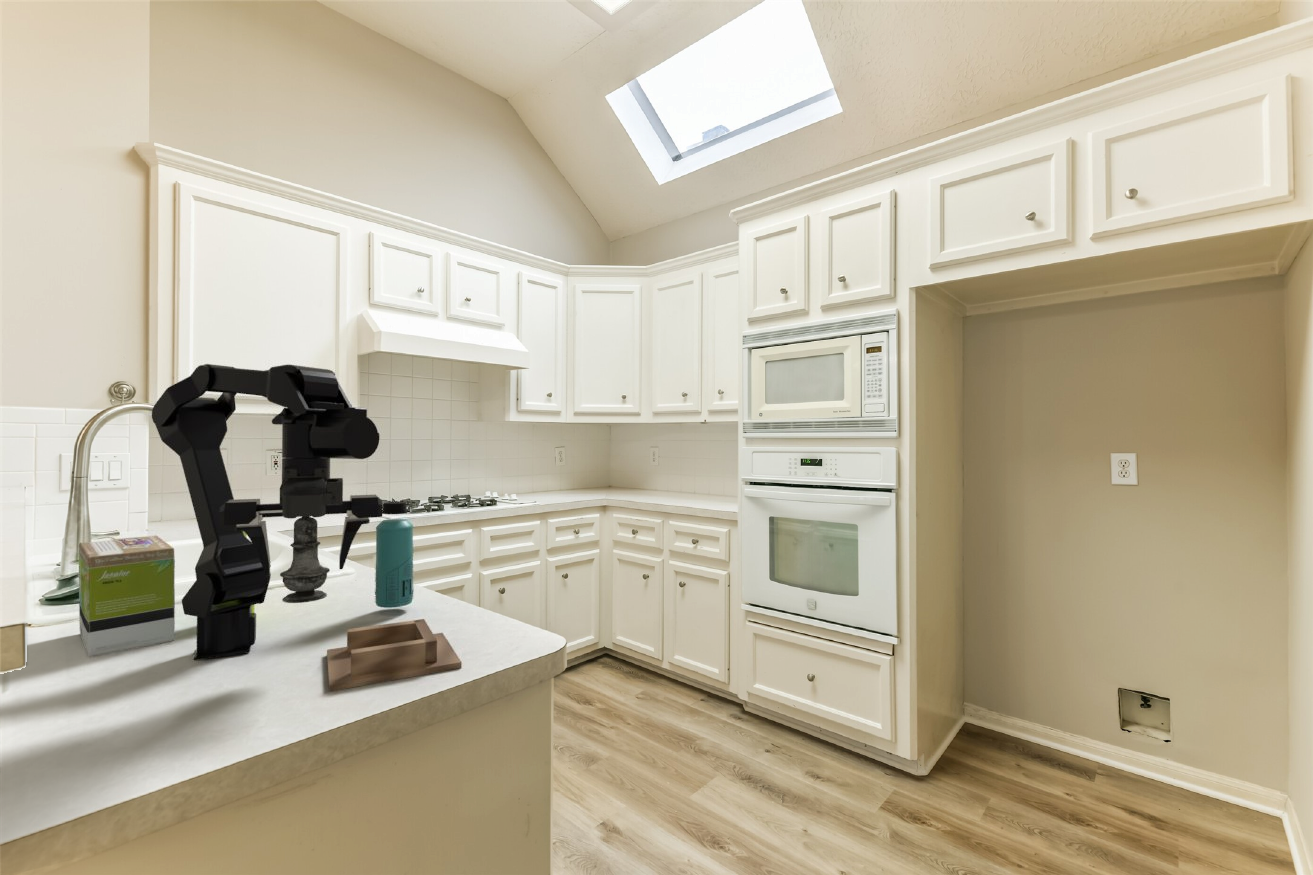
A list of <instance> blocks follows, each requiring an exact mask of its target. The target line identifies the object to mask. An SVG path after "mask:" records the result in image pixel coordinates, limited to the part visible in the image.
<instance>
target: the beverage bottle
mask: <svg viewBox="0 0 1313 875" xmlns="http://www.w3.org/2000/svg"><path fill="white" fill-rule="evenodd" d="M407 507H408V506H407V502H406V501H401V500H399V501H398V500H397V501H396V500H394V501H393V500H391V501H386V502H383V503H382V515H402V514H407V513H408V508H407ZM413 529H414V525H413V523H411V521H410V520H408V519H406V518H394V519H393V518H391V519H384V520H382V521H380V522H379V524H377V526H376V527H375V530H376V532H375V533H376V534H375V535H376V536H375V540H376V541H375V545H376V546H375V572H374V579H375V580H374V586H375V589H374V594H375V595H374V598H375V600H374V602H375V605H376V606H377V608H378V607H379V608H386V609H387V608H399V607H400V608H401V607H404V606H408V605H411V603H412V602H413V599H414V596H415V595H414V591H415V590H414V589H415V588H414V585H415V583H414V578H415V577H414V571H415V570H414V543H413V542H414V541H413V540H414V539H413V537H414V530H413Z"/></svg>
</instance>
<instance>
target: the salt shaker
mask: <svg viewBox="0 0 1313 875" xmlns="http://www.w3.org/2000/svg"><path fill="white" fill-rule="evenodd" d="M320 545H321V541H318V521H317V519H316V518H315V517H312V516H302V517H299V518H297V519H296V520H295V521H294V524H293V542H292V543H290V547H292V560H291V564H290V567H289V568H288V569H287V570H284V571H282V572H280V573H279V576H280V577H281V578H282V582H283V585H284V587H286V588H287V589H288V590H289V591H291V593H287V595H286V596H283V597H282V599H281V600H282V603H285V604H286V603H288V604H302V603H303V604H304V603H309V602H315V601H319V600H322V599H325V598H326V597H327V596H328V593H327V592H324V591H323V590H319V588H321V587H322V586H323V585H324V584H325V583H326V581H327V578H328V573H330V568H328V567H325V566H324V567H323V565H321V564H320V560H319V546H320Z"/></svg>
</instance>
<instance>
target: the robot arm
mask: <svg viewBox="0 0 1313 875" xmlns="http://www.w3.org/2000/svg"><path fill="white" fill-rule="evenodd" d="M206 392H207V393H208V392H211V393H221V394H220V396H219V397H218V398H217V399H215V398H213V397H212V398H211V397H202V396H203V395H205V393H206ZM237 394H241V395H249V396H258V397H259V396H260V397H263V398H266V399H267V401H268V402H270V403H273V404H276V405H277V406H281V407H282V410H281V411H280V413H279V414H276V415H275V416H274V417H273V418H272V419H271V424H272V425H277V426H278V425H279V426H282V427H281V432H282V433H281V443H282V444H281V484H280V487H279V502H278V503H261V499H260V498H248V499H247V498H244V499H242V498H241V499H235V498H234V494H233V491H232V488H231V483H230V479H229V475H228V473H227V469H226V466H225V463H224V462H225V461H224V459H223V454H222V451H221V445H222V443H223V442H224V439H225V436H226V434H227V432H228V423H227V421H228V420H229V418H231V416H232V415H233V414H234V412H235V411H236V408H237V407H236V399H235V397H236V395H237ZM151 419H152V422H153V423H154V425H155V428H156V430H157V434H158V435H159V437H160V440H161V442H162V443H164V444H165V445H166V446H168V448H169V449H170V450H172V451H173V452H174V453H176V455H178V457H179V459H180V462H181V466H182V470H183V474H184V478H185V481H186V486H187V488H188V492H189V496H190V500H191V504H192V508H193V511H194V516H195V519H196V522H197V527H198V530H199V533H200V534H199V535H200V537H201V541H202V546H203V547H202V548H203V549H202V551H201V553H200V556H199V558H198V560H197V563H196V565H195V568H194V570H195V571H194V573H195V579H196V580H195V581H194V582H193V584H192V585H191V587H190V588H189V589H188V591H187V592H186V593H185V595H184V596H183V597H182V598H181V605H182V610H183V614H184V615H186V616H193V617H196V652H195V653H194V655H193V661H200V660H201V661H202V660H206V659H214V658H221V657H228V656H235V655H242V654H248V653H250V652H251V649H252V646H254V644H256V640H257V613H256V612H254V613H252V605H254V606H255V605H257V604H259V605H260V604H263V603H265V600H266V599H265V598H266V595H267V593H268V588H269V585H270V580H271V578H272V577H271V575H272V574H271V567H272V566H271V555H270V548H269V547H270V546H269V540H268V538H269V537H268V530H267V523H266V522H267V521H266V520H263V519H264V518H275V517H277V518H278V517H283V518H285V519H296V518H298V517H299V518H301V517H302V516H310V517H312V518H321V517H324V516H325V515H340V514H341V515H342V514H346V516H345V517H344V522H343V524H344V525H343V530H342V537H341V543H340V544H341V545H340V550H339V565H338V566H339V570H343V568H344V566H345V564H346V560H347V558H348V554H349V553H350V549H351V546H352V544H353V541H354V539H355V537H356V535H357V533H358V531H359V530H360V528H361V527H362V525H368V524H370V522H371V519H370V518H381V517H383V514H382V510H383V500H382V499H381V498H380V497H379V496H378V495H376V494H359V495H357V494H354V495H353V494H351V495H350V496H349V500H343V499H344V497H343V496H344V495H343V494H344V490H343V489H344V480H343V479H344V478H343V477H333V478H332V477H331V459H338V460H339V459H343V460H346V459H347V460H364V459H369V458H370V457H371V456H373V455H374V453H375V452H376V451H377V449H378V448H379V445H380V444H379V443H380V433H379V432H378V428H377V425H376V424H375V422H374V421H373V420H372V419H371V418H369V417H368V410H367V408H366V407H353V405H352V403H350V401H349V399H348V397H347V395H346V393H345V391H344V389H343V388H342V385H341V384H340V382H339V381H338V379H337V377H336V372H334V371H333V370H331V369H327V368H320V367H312V366H311V367H310V366H303V365H298V364H297V365H295V364H282V365H275V366H272V367H270V368H269V369H265V370H262V369H261V370H259V369H248V368H247V369H246V368H236V367H234V366H228V365H219V364H211V363H205V364H200V365H198V366H197V367H196V368H195V369H194V371H193V372H192V373H191V375H189V376H187V377H185V378H184V379H182V380H179V381H178V382H176V383H174V384H173V385H170V386H168V387H167V388H166V389H165V390H164V391H163V393H162V394H161V396H160V397H159V398H158V400H157V401H156V402H155V403H154V405H153V407H152V409H151ZM243 531H244V532H245V533H246V534H247V538H246V537H245V536H244V534H243Z"/></svg>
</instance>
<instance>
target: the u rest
mask: <svg viewBox="0 0 1313 875" xmlns="http://www.w3.org/2000/svg"><path fill="white" fill-rule="evenodd" d="M346 631H347V632H346V646H343V647H335V648H329V649H326V660H327V661H326V662H327V676H328V690H329V691H328V692H334V691H340V690H344V689H349V688H350V689H351V688H356V687H360V686H366V685H367V686H368V685H372V684H379V683H384V682H389V681H395V680H400V679H406V678H412V677H418V676H424V675H427V674H434V673H435V674H436V673H440V672H445V671H451V670H458V669H461V668H462V664H463V663H462V660H461V659H460V658H459V656H458V654H457V652H456V651H455V650H454V648H453V647H452V645H451V644H450V642H449V640H448V639H447V637H446V636H445V634H444V633H443V632H438V633H434V632H433V631H432V629H431V628H430V626H429V625H428V623H427V621H426V619H424V618H421V619H414V620H406V621H399V622H393V623H385V624H378V625H377V624H376V625H371V626H362V627H356V628H355V627H354V628H348V629H346Z"/></svg>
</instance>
